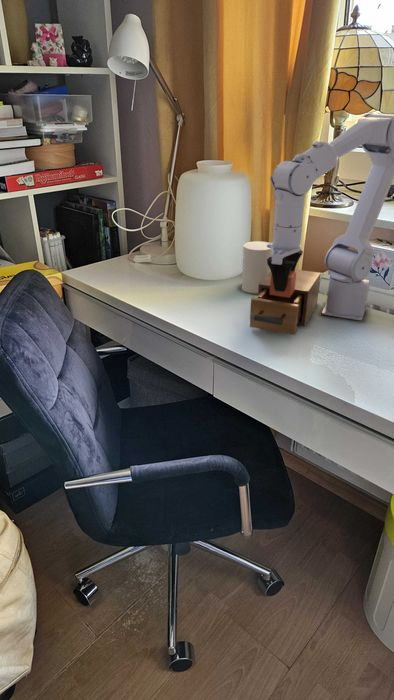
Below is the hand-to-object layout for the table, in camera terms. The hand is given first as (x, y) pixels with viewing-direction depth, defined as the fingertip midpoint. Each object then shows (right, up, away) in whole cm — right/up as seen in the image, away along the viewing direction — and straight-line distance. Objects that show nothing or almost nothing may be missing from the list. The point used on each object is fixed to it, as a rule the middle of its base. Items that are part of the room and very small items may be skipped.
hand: (282, 286), depth 104 cm
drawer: (0, -8, +6) cm, 10 cm away
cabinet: (+4, -4, +14) cm, 15 cm away
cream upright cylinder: (-2, +3, +28) cm, 28 cm away
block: (0, -1, +1) cm, 1 cm away
